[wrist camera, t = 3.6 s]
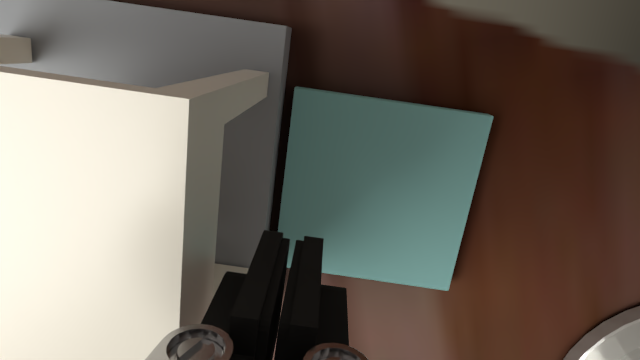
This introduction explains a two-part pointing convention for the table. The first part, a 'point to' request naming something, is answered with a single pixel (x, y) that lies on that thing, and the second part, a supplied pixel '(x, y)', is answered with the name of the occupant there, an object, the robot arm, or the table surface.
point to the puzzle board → (172, 68)
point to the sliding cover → (108, 207)
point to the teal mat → (381, 184)
